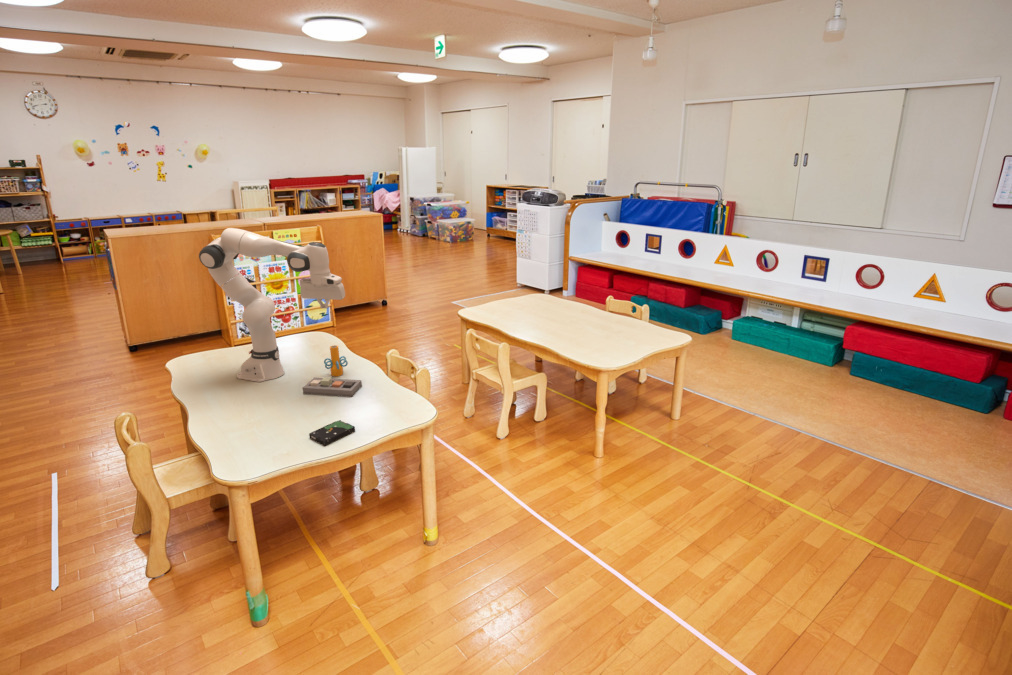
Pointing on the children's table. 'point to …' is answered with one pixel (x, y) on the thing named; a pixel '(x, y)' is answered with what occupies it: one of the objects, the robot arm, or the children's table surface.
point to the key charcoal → (348, 384)
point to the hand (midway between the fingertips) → (324, 308)
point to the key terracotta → (337, 384)
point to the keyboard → (332, 388)
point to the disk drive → (332, 432)
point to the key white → (315, 382)
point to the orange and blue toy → (335, 362)
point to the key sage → (326, 381)
